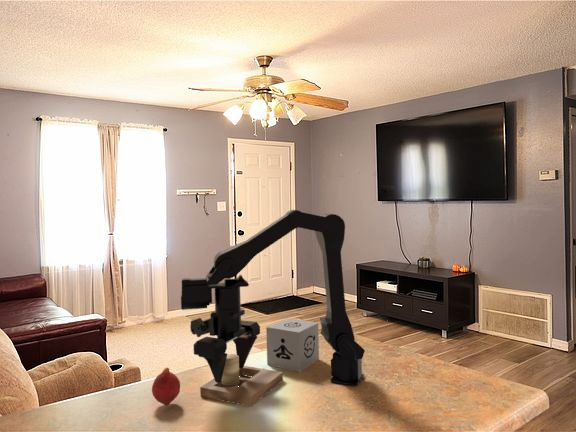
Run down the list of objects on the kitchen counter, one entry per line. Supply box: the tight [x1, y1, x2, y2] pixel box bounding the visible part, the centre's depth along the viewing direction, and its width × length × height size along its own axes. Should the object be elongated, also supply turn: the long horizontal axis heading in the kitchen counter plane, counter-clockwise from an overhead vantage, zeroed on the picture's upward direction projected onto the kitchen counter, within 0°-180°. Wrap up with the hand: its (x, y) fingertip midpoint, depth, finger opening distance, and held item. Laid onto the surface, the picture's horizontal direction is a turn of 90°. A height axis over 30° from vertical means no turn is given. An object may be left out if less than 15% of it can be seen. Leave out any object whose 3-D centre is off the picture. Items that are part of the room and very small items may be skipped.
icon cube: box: [265, 317, 320, 373], centre depth 122 cm, size 10×10×10 cm
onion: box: [151, 366, 181, 406], centre depth 98 cm, size 6×6×8 cm
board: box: [200, 365, 284, 407], centre depth 106 cm, size 13×15×2 cm
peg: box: [221, 353, 240, 390], centre depth 104 cm, size 4×4×8 cm
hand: (229, 374), depth 104 cm, fingers open, 9 cm apart
